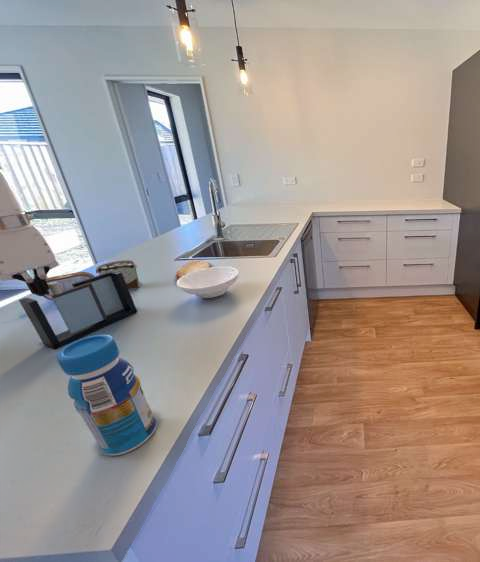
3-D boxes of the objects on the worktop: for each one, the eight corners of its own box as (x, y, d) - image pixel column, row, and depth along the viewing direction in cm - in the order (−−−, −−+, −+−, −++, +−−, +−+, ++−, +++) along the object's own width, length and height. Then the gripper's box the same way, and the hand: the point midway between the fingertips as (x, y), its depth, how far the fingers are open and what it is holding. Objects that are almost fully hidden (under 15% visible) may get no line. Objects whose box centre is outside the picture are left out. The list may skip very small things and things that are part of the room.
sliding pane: (72, 334, 83) (47, 285, 77) (69, 332, 83) (44, 284, 77) (108, 318, 90) (87, 273, 84) (104, 317, 90) (83, 272, 84)
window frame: (54, 349, 79) (28, 303, 73) (44, 345, 81) (18, 299, 75) (137, 312, 97) (121, 272, 91) (127, 309, 99) (111, 270, 93)
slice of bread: (198, 263, 138) (196, 255, 136) (226, 269, 131) (224, 260, 129) (159, 277, 123) (156, 269, 122) (187, 284, 116) (184, 275, 114)
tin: (101, 289, 114) (92, 268, 111) (101, 291, 112) (92, 271, 108) (46, 301, 105) (34, 279, 102) (45, 304, 103) (33, 282, 100)
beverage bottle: (87, 454, 51) (30, 361, 43) (131, 414, 59) (89, 328, 51) (130, 461, 50) (79, 366, 42) (169, 419, 58) (133, 332, 49)
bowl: (168, 303, 102) (162, 284, 99) (212, 280, 119) (208, 264, 116) (214, 310, 97) (209, 291, 94) (253, 285, 114) (250, 269, 111)
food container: (148, 281, 120) (140, 257, 116) (144, 287, 115) (135, 263, 110) (111, 286, 116) (101, 262, 112) (104, 293, 111) (93, 268, 106)
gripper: (38, 215, 77) (70, 281, 84) (-54, 230, 64) (-7, 305, 71) (54, 217, 74) (85, 284, 81) (-39, 232, 61) (8, 310, 69)
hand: (42, 294), depth 76 cm, fingers closed
